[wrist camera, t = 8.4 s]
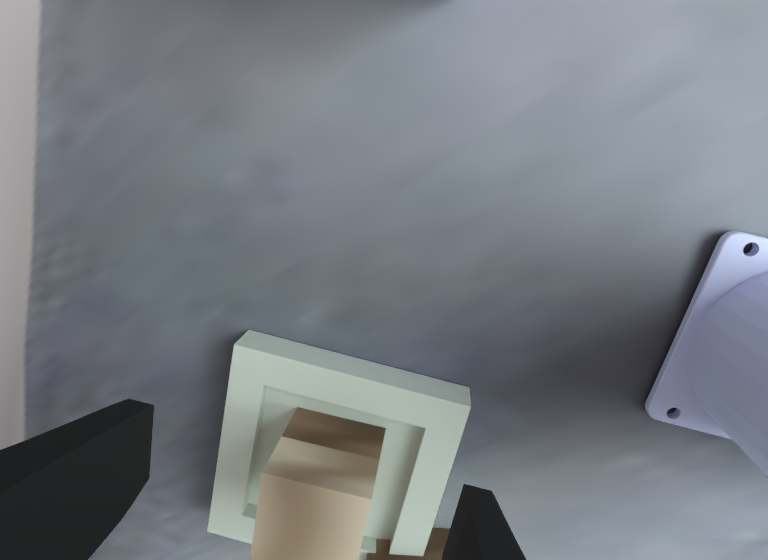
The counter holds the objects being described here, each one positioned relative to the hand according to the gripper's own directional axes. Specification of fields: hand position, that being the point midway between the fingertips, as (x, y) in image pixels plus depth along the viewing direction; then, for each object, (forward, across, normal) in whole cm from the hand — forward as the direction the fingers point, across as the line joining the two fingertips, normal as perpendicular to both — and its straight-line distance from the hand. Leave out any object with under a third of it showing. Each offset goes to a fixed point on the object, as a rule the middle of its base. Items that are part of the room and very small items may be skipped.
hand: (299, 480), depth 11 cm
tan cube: (+10, 0, +7) cm, 12 cm away
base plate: (+10, 0, +7) cm, 13 cm away
